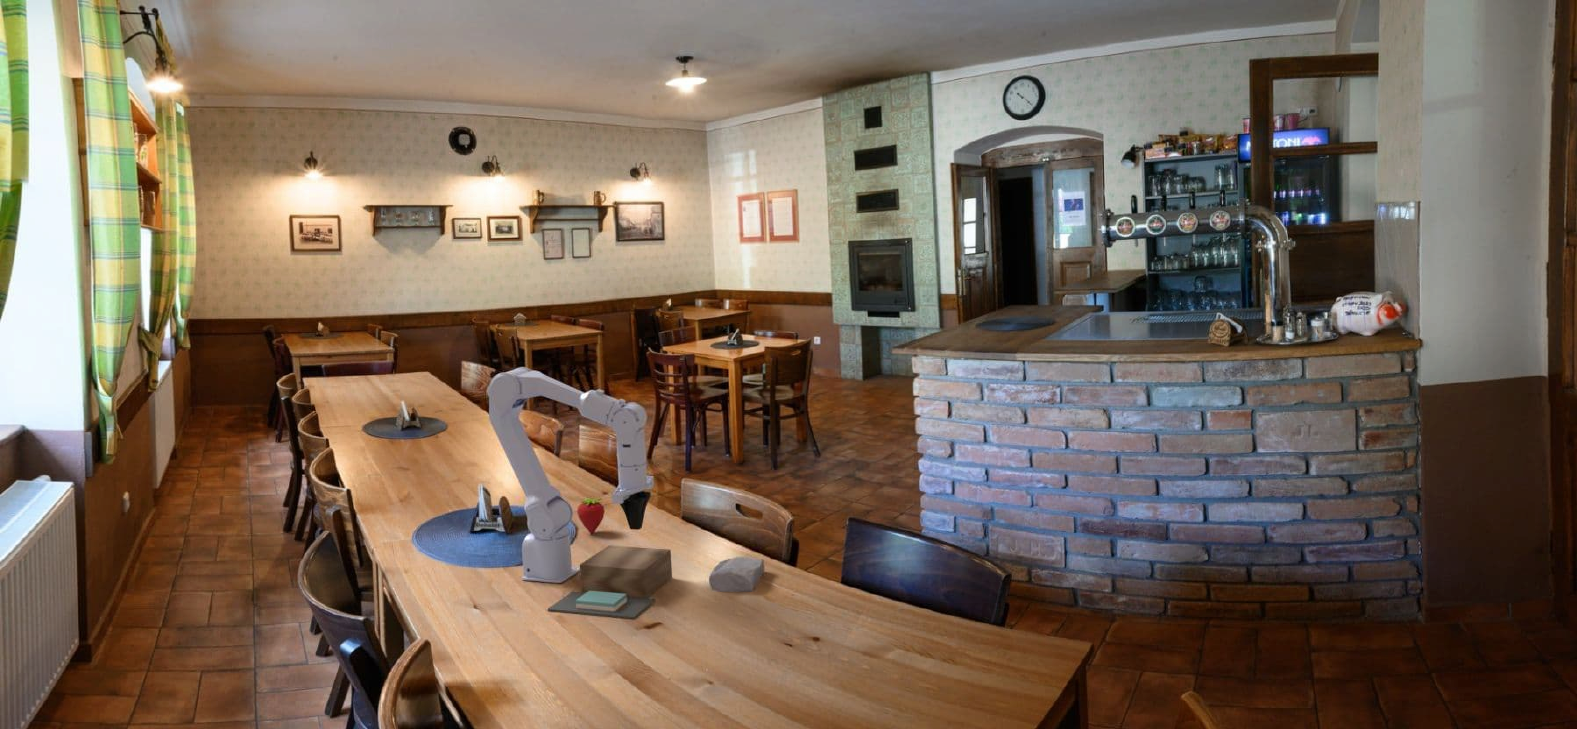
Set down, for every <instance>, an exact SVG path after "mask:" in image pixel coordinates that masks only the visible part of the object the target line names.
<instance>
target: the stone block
mask: <svg viewBox="0 0 1577 729" xmlns="http://www.w3.org/2000/svg"><path fill="white" fill-rule="evenodd" d="M764 572H765V561H764V558H755V557H750V556H749V557H748V556H735V557H733V558H727V559H724V560H722V561H721V560H720V561H719V563H718V564H717V565H716V566H714V568H713V569H712V572H711V573H710V574H709V576H708V582H709V586H710V588H711V590H712V591H715V592H716V591H717V592H753V591H752V590H753V589H754V590H755V588H756V586H757V585H758V582H759V581H760V579H761V578H762V576H763V575H764ZM762 574H763V575H762ZM756 584H757V585H756Z"/></svg>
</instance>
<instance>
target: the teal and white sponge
mask: <svg viewBox="0 0 1577 729" xmlns="http://www.w3.org/2000/svg"><path fill="white" fill-rule="evenodd" d="M626 602H627V595H626V594H622V593H611V592H599V591H588V592H587V593H585V594H584V595H582V596H581V597H580V598H578V599H577V600H576V608H582V609H593V610H603V611H616V610H617V609H618V608H619V607H621V606H622V605H623V604H624V603H626Z"/></svg>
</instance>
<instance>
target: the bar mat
mask: <svg viewBox="0 0 1577 729" xmlns="http://www.w3.org/2000/svg"><path fill="white" fill-rule="evenodd" d="M585 593H586V592H581V591H574V590H572V591H571V592H570V593H568V594H566V595H565V596H563V597H562V598H561V599H559V600H558V601H556V602H555V603H554V604H553V605H551V606H549V607H548V608H547V611H548V612H554V613H556V612H557V613H566V614H577V615H589V616H595V617H596V616H598V617H607V618H617V619H618V618H619V619H628V620H629V619H630V620H636V618H637V617H638V616H639V615H640V614H642V613H643V612H644V611H645V610H647V609H648V608H649V607H650V606H651V605H653V603H655V602H656V598H651V597H649V598H642V597H631V596H627V602H626V603H624V604H623V605H622V606H621V607H619V608H618V609H617V610H616V611H603V610H593V609H582V608H576V600H577V599H578V598H580V597H581V596H582V595H584V594H585Z"/></svg>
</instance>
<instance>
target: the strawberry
mask: <svg viewBox="0 0 1577 729" xmlns="http://www.w3.org/2000/svg"><path fill="white" fill-rule="evenodd" d="M593 494H594V492H592V493H591V496H590V498H582V501H579V503H580V504H579V505H578V506H577V511H576V512H577V516H578V519H579V520H580V522H581V524H582V525H583V527H584V528H585V529H586V530H587V531H588V533H590V534H594V533H595V532H596V530H597V528H598V527H599V526H600V525H601V523H602V521H603V519H604V516H605V507H604V506H603V505H602V501H601V500H602V498H593V499H592V496H593Z"/></svg>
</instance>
